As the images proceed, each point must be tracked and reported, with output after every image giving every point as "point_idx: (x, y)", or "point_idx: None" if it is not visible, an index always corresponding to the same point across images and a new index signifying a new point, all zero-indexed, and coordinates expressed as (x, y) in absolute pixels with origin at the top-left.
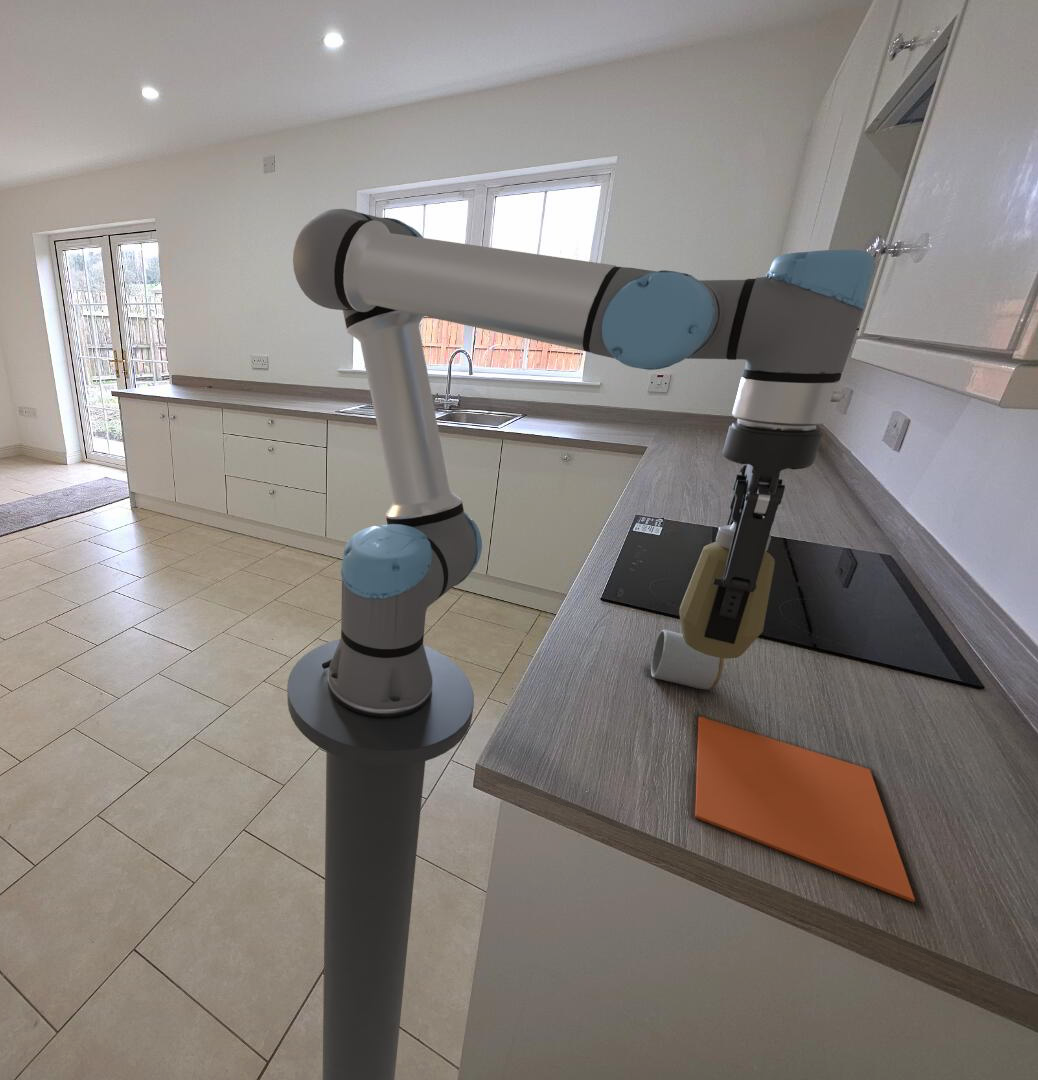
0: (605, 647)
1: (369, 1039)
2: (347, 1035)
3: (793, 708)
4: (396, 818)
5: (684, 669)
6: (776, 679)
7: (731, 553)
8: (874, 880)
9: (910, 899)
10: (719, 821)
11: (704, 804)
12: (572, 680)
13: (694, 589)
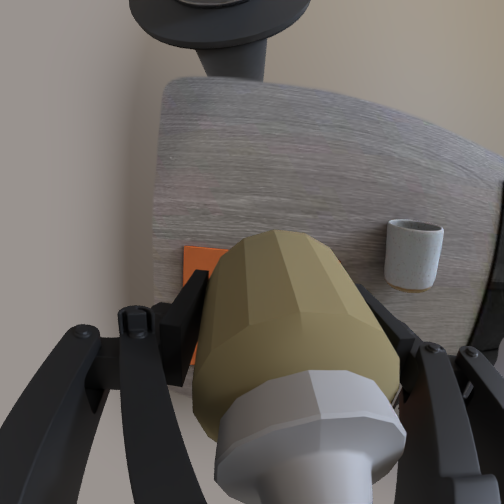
0: (431, 174)
1: None
2: None
3: None
4: (201, 54)
5: (390, 251)
6: (423, 328)
7: (66, 389)
8: None
9: None
10: (186, 263)
11: (201, 254)
12: (352, 133)
13: (250, 261)
